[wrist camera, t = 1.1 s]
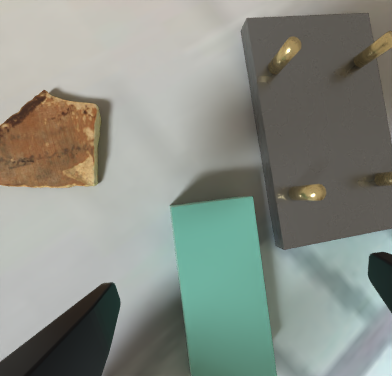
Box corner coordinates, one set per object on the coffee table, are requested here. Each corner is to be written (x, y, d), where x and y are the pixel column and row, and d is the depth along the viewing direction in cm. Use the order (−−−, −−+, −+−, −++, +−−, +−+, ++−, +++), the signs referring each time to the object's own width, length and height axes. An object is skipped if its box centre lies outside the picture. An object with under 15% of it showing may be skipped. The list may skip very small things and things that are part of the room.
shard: (-47, 185, 18) (-70, 183, 16) (-38, 89, 18) (-60, 77, 16) (100, 190, 19) (93, 189, 17) (104, 101, 20) (98, 91, 18)
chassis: (390, 223, 22) (446, 229, 18) (275, 246, 21) (306, 259, 16) (355, 25, 23) (401, -18, 18) (240, 30, 21) (261, -15, 17)
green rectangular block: (256, 353, 20) (278, 391, 16) (189, 369, 19) (196, 412, 15) (235, 196, 21) (252, 196, 17) (169, 205, 20) (171, 207, 16)
